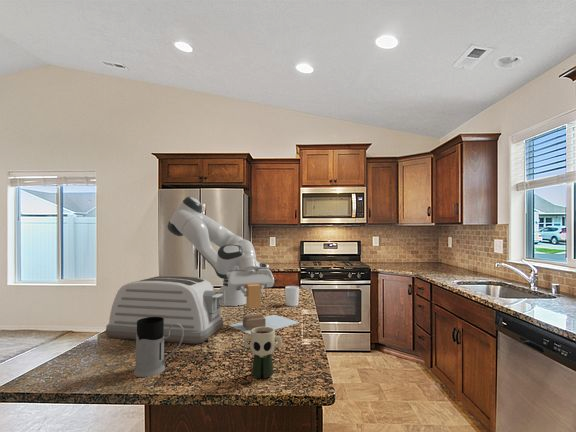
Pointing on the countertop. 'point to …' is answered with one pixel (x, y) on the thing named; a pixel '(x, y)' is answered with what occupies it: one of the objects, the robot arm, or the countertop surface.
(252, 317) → the walnut plinth
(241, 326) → the board
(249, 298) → the orange block
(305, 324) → the countertop surface
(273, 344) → the character mug
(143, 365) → the glass holder
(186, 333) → the toaster
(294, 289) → the white cup
